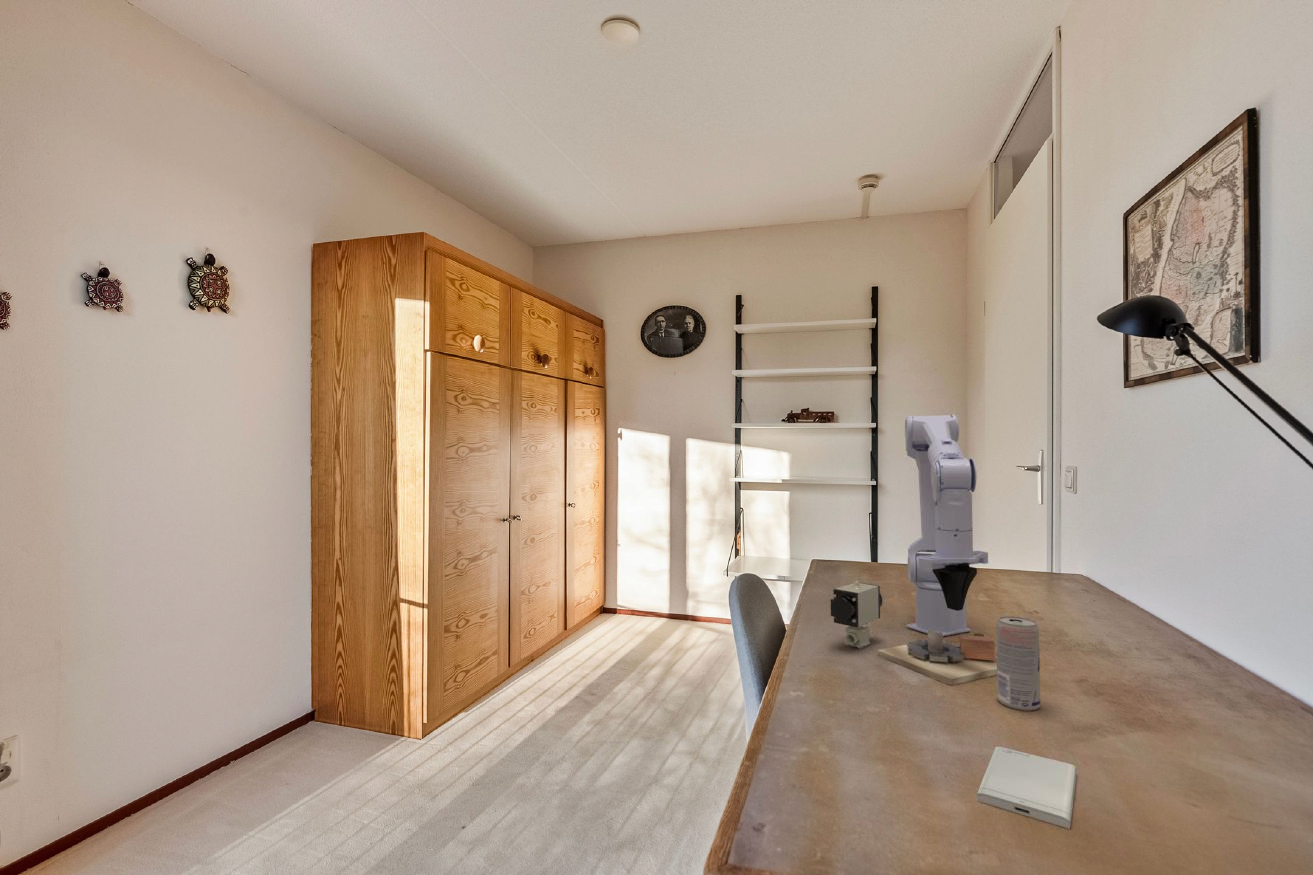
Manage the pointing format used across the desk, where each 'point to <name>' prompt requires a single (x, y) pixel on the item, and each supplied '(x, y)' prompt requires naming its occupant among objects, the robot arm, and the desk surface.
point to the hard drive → (1029, 786)
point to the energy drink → (1018, 663)
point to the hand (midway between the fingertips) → (954, 608)
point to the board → (941, 670)
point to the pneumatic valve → (856, 610)
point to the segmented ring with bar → (956, 649)
